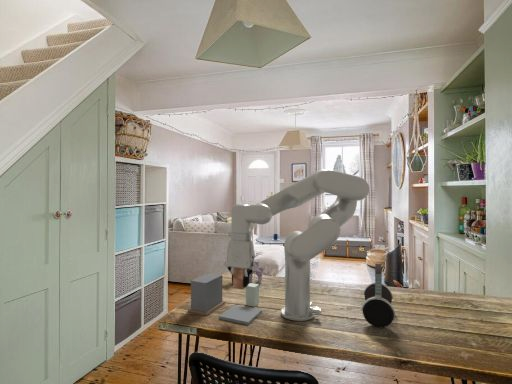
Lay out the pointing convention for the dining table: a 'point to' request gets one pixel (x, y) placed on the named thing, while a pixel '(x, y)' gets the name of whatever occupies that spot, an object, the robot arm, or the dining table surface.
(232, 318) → the mat
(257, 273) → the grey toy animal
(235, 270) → the terracotta block
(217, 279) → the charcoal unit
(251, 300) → the sage block
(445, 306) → the dining table surface
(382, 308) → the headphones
